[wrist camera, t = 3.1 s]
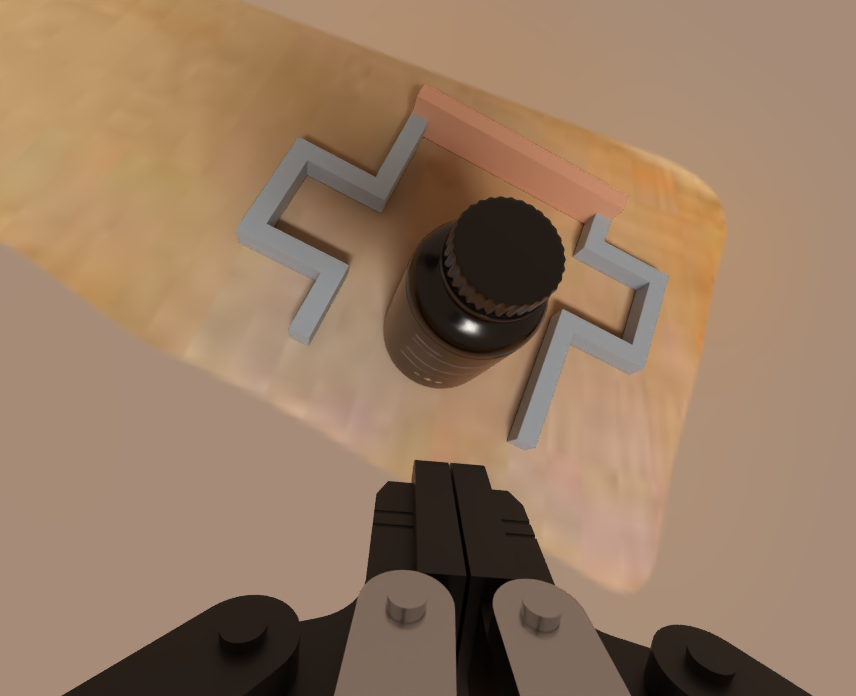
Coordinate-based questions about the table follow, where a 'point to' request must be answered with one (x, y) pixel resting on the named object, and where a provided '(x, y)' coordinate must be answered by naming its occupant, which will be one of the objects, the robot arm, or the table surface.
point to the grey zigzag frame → (513, 165)
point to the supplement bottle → (473, 292)
